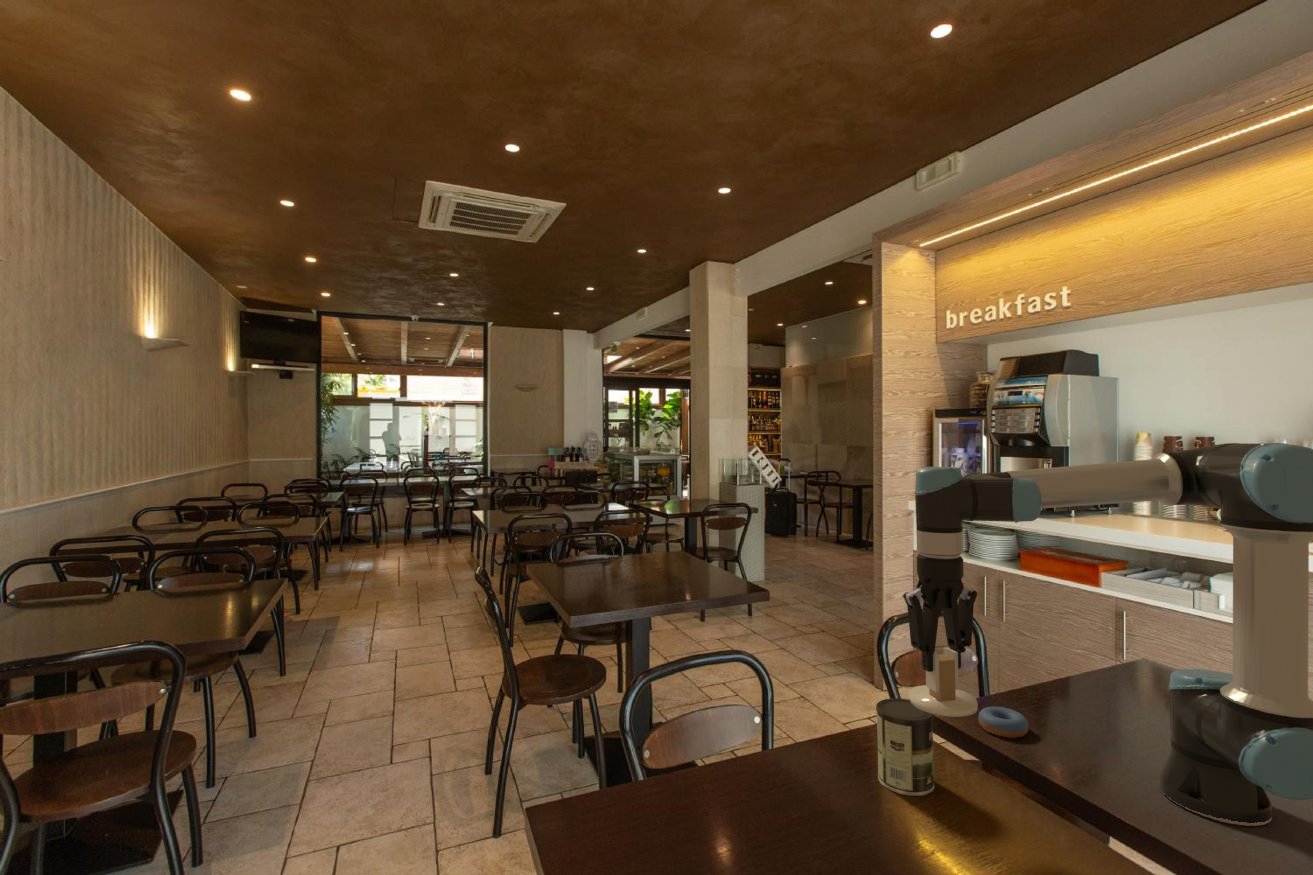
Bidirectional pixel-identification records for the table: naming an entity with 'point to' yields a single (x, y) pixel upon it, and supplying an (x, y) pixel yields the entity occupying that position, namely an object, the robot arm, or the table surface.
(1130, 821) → the table surface
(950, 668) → the lid
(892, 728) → the coffee can
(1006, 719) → the doughnut
